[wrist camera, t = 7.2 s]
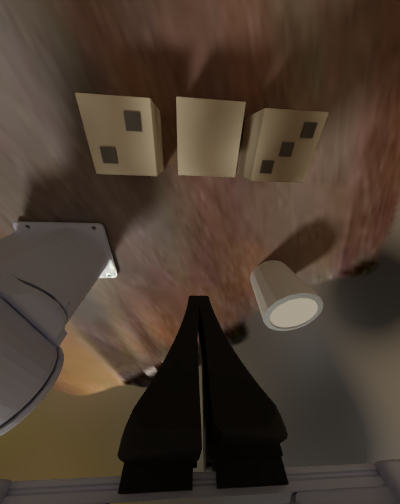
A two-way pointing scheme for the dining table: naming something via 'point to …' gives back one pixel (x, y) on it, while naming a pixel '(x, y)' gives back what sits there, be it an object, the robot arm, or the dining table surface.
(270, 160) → the dotted block three
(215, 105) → the plain block
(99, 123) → the dotted block two
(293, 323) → the cream short cylinder
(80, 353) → the dining table surface
